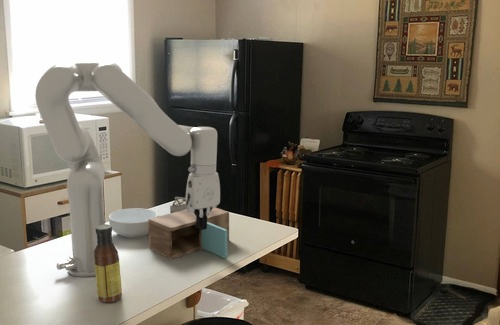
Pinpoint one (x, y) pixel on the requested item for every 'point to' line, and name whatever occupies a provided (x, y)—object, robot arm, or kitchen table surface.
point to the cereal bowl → (131, 221)
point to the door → (215, 240)
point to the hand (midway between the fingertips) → (201, 228)
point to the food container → (178, 205)
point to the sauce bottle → (107, 266)
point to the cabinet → (181, 231)
